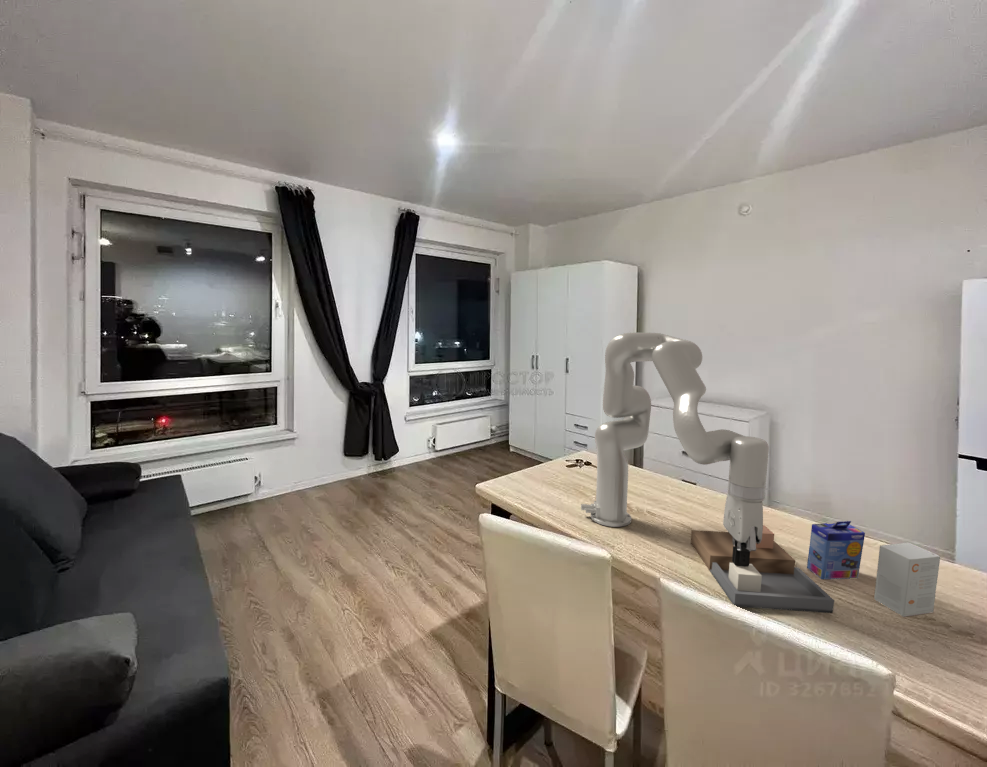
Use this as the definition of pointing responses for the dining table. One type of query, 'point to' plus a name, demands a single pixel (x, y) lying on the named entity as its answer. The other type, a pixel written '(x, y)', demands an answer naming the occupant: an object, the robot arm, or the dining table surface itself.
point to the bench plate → (721, 549)
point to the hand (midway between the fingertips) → (740, 564)
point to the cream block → (745, 577)
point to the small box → (907, 578)
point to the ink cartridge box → (835, 550)
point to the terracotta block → (766, 539)
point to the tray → (778, 592)
